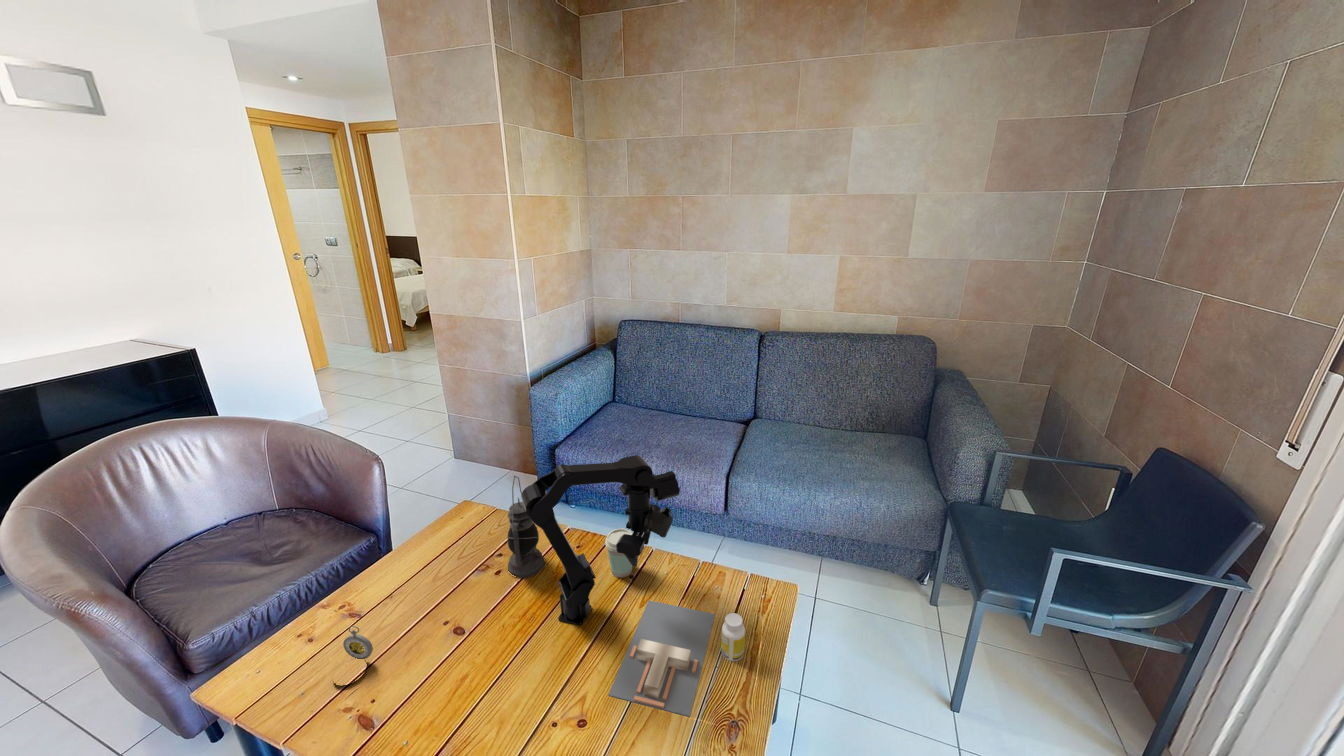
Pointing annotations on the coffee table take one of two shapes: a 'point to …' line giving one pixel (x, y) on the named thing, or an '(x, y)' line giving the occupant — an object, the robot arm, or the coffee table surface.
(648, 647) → the t block
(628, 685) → the mat
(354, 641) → the pocket watch
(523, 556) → the lantern
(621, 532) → the coffee cup
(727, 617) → the supplement bottle
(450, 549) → the coffee table surface
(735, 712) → the coffee table surface
